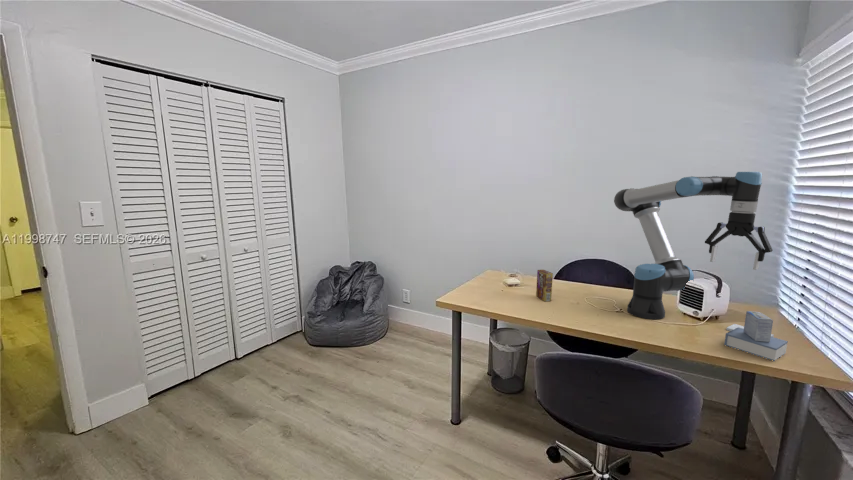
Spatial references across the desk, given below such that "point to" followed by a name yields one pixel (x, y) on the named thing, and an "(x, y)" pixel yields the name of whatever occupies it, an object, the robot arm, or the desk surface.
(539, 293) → the candy box
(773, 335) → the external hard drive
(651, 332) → the desk surface
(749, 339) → the book
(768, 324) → the medicine box
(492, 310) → the desk surface
